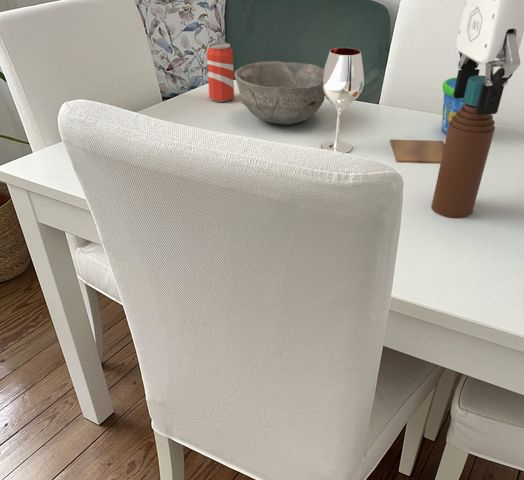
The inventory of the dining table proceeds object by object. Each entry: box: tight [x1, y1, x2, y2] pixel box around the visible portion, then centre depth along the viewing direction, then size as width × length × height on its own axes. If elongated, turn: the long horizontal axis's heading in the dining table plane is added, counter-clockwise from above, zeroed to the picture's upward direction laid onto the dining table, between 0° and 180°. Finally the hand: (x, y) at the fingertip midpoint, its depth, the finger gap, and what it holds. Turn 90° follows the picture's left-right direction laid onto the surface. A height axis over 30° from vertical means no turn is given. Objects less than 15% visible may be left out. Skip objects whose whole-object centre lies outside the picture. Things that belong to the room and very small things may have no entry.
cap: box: [463, 75, 485, 106], centre depth 84 cm, size 4×4×3 cm
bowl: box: [233, 60, 326, 126], centre depth 126 cm, size 21×21×10 cm
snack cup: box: [441, 76, 465, 135], centre depth 120 cm, size 16×10×10 cm
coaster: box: [389, 139, 445, 164], centre depth 116 cm, size 11×11×1 cm
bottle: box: [431, 103, 496, 219], centre depth 90 cm, size 7×7×20 cm
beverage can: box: [206, 42, 235, 103], centre depth 137 cm, size 6×6×12 cm
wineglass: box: [320, 47, 365, 154], centre depth 111 cm, size 8×8×18 cm
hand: (474, 104), depth 86 cm, fingers open, 6 cm apart
